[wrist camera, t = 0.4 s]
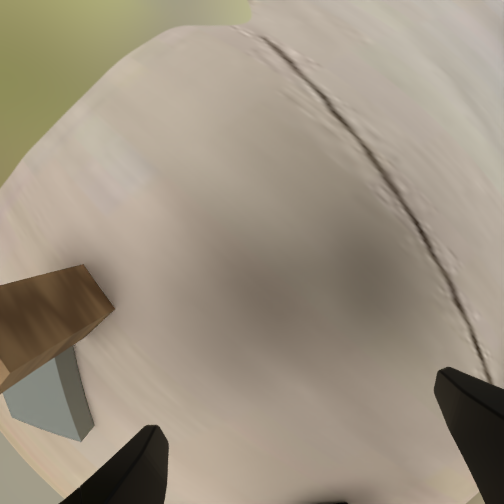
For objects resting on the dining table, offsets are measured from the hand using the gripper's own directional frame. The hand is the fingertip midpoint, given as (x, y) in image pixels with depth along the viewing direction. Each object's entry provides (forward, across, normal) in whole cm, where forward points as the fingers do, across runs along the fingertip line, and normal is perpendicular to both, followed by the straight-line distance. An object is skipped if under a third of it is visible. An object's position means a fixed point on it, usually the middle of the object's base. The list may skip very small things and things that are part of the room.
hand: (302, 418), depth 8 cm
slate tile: (+13, +24, +7) cm, 28 cm away
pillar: (+14, +16, 0) cm, 21 cm away
